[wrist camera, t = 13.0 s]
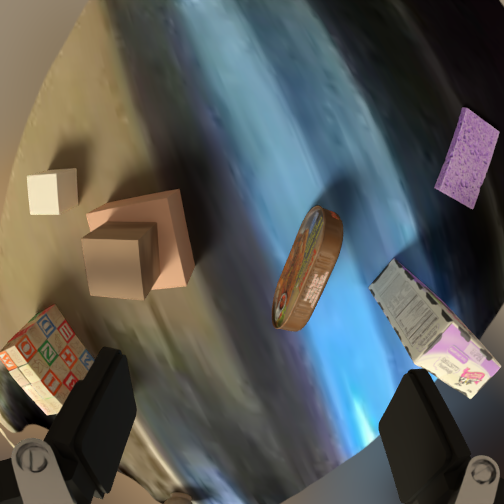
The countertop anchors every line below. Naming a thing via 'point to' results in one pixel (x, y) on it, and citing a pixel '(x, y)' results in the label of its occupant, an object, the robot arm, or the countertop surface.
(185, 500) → the pottery
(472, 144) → the sponges
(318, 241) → the tin
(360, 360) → the countertop surface
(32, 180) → the off-white cube
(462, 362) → the candy box
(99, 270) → the walnut cube
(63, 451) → the robot arm
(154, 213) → the terracotta block
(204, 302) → the countertop surface
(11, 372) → the stack of blocks
